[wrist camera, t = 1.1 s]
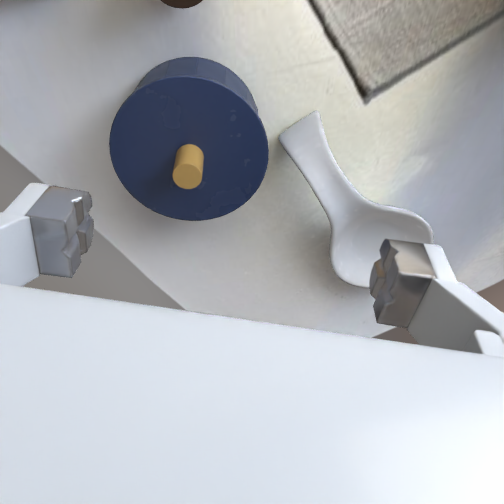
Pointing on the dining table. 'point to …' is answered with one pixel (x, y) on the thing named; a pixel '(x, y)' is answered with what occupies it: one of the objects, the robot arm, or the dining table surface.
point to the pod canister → (181, 3)
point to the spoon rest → (348, 206)
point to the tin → (200, 74)
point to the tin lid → (189, 147)
